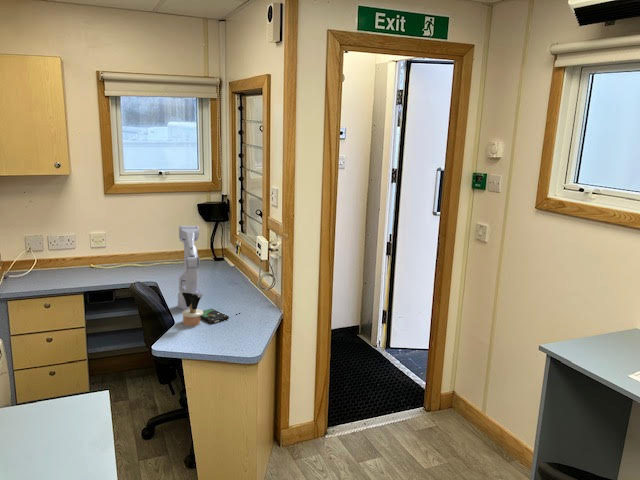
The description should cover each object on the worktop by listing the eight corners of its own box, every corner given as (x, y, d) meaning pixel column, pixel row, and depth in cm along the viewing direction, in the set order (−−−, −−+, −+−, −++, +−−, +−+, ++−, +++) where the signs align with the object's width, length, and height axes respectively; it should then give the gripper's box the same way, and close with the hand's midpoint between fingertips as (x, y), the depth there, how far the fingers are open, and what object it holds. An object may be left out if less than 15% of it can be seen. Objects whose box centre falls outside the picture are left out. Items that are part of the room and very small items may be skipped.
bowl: (179, 322, 250) (179, 313, 249) (193, 318, 256) (193, 310, 255) (189, 327, 245) (189, 318, 244) (203, 323, 251) (203, 314, 250)
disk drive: (229, 321, 257) (211, 313, 266) (229, 316, 256) (211, 308, 266) (212, 326, 249) (194, 317, 259) (212, 320, 248) (194, 312, 258)
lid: (178, 313, 249) (178, 303, 248) (195, 308, 257) (195, 299, 256) (189, 318, 243) (189, 309, 242) (207, 314, 250) (207, 305, 249)
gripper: (176, 278, 248) (176, 305, 250) (193, 286, 238) (193, 313, 241) (188, 276, 253) (188, 302, 256) (206, 283, 243) (205, 310, 246)
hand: (191, 307), depth 249 cm, fingers open, 4 cm apart
